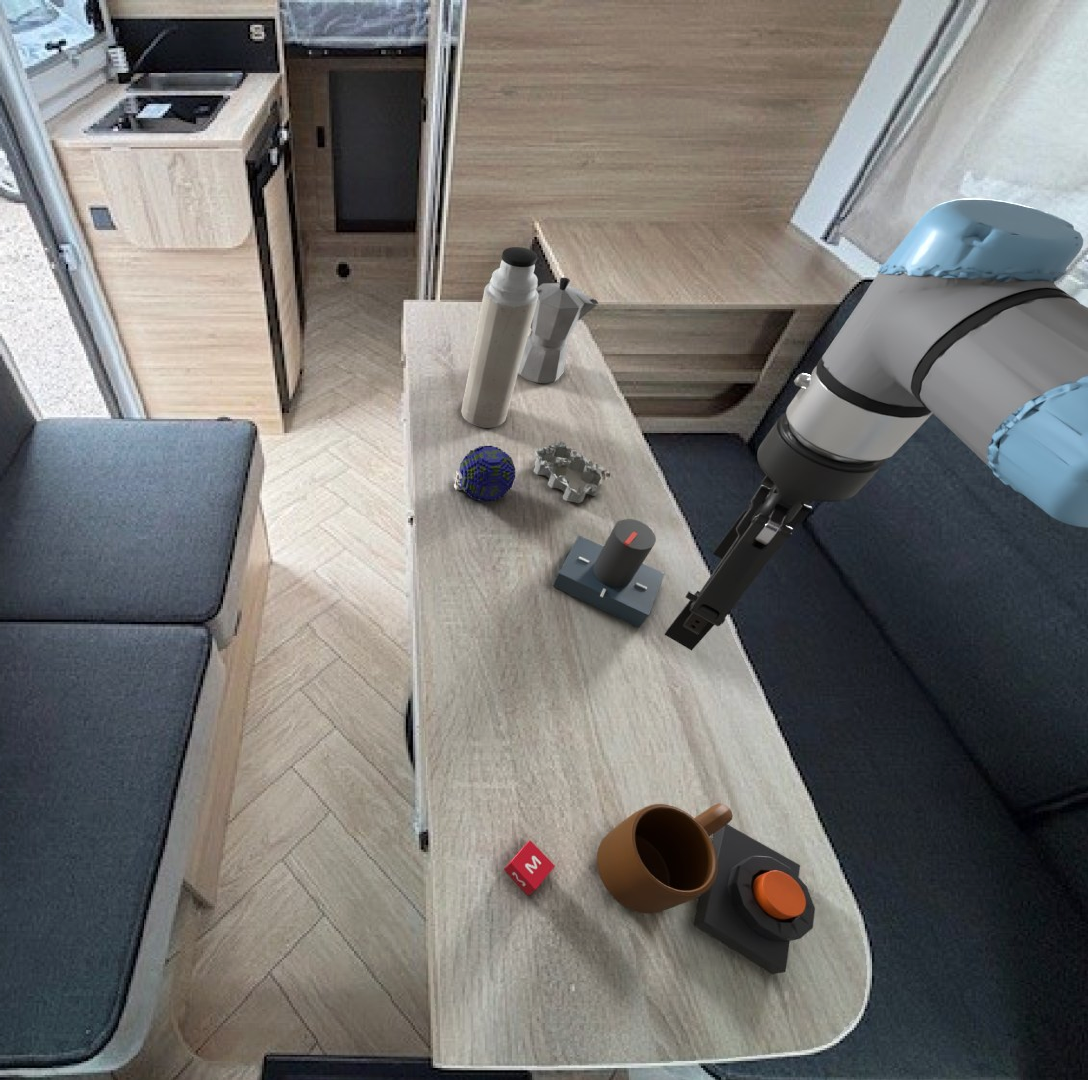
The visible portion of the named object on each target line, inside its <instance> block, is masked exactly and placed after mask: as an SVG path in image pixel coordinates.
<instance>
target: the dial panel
mask: <svg viewBox="0 0 1088 1080" xmlns="http://www.w3.org/2000/svg"><path fill="white" fill-rule="evenodd" d="M603 547H604V545H602V544H600V543H598V542H596V541H593V540H590V539H589V538H586V537H584V536H582V535H580V534H579V535H578V536H577V538H576V540H575V542H574V543H573V545H572V547H571V549H570V551H569V553H568V554H567V557H566V558H565V560H564V562H563V563H562V566H561V568H560V570H559V572H558V573H557V576H556V578H555V579H554V582H553V584H552V587H554V588H555V589H557V590H560V591H562V592H564V593H566V594H568V595H570V596H572V597H574V598H576V599H579V600H581V601H583V602H585V603H587V604H589V605H591V606H593V607H595V608H597V609H599V610H601V611H603V612H605V613H608V614H610V615H611V616H614V617H617V618H618V619H620V620H622V621H625V622H626V623H629V624H630V625H633V626H635V627H636V628H638V629H639V628H641V627H642V625H644V623H645V622H646V620H647V619H648V617H649V616H650V614H651V611H652V608H653V606H654V603H655V601H656V598H657V595H658V593H659V590H660V588H661V585H662V583H663V580H664V577H665V575H666V573H665V572H663V571H661V570H659V569H656V568H654V567H652V566H649V565H648V564H645V563H644V562H643V563H642V565H641V566H640V568H639V569H638V571H637V573H636V574H635V576H634V577H633V579H632V580H631V582H630V583H629V584H628V585H627V586H625V587H623V588H612V587H609V586H607V585H605V584H603V583H601V582H600V581H599V580H598V579H597V578H596V576H595V574H594V571H593V566H594V564H595V562H596V560H597V558H598V556H599V554H600V553H601V551H602V549H603Z"/></svg>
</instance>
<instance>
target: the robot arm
mask: <svg viewBox="0 0 1088 1080" xmlns="http://www.w3.org/2000/svg"><path fill="white" fill-rule="evenodd" d="M1083 245H1084V238H1083V236H1082V234H1081V232H1080V231H1077V230H1076V229H1075V227H1074V225H1073V224H1072V223H1071V222H1069V221H1067V220H1065V219H1063V218H1061V217H1059V216H1056V215H1054V214H1053V213H1049V212H1047V211H1043V210H1041V209H1038V208H1034V207H1030V206H1026V205H1023V204H1019V203H1014V202H1009V201H1003V200H996V199H990V198H989V199H987V198H959V199H958V198H957V199H953V200H949V201H946V202H942V203H940V204H937V205H936V206H934V207H933V208H931V209H929V210H928V211H926V213H924V214H923V215H922V216H921V217H920V218H919V220H918V221H917V223H915V225H914V226H913V227H912V229H911V230H910V231H909V233H908V234H907V235H906V236H905V237H904V238H903V240H902V241H901V243H899V245H898V246H897V247H896V249H895V250H894V251H893V252H892V254H891V255H890V256H889V258H888V259H887V260H886V262H885V263H883V264H881V265H880V267H879V268H878V270H877V274H876V276H875V277H874V278H873V280H872V282H871V284H870V285H869V287H868V288H867V290H866V292H864V294H863V296H862V298H861V299H860V300H859V302H858V303H857V304H856V307H855V308H854V310H853V311H852V312H851V314H850V315H849V317H848V318H847V320H846V321H845V323H844V324H843V326H842V327H841V329H840V330H839V332H837V334H836V336H835V337H834V338H833V340H832V342H831V343H830V345H829V346H828V348H826V351H825V352H824V354H823V355H822V356H821V357H820V359H819V360H818V362H817V364H816V365H815V367H814V368H813V370H812V371H811V374H808V373H804V372H801V373H800V374H798V375H797V376H796V377H795V379H794V380H793V382H794V385H795V386H797V387H798V388H800V389H799V390H798V391H797V393H796V394H795V396H794V397H793V398H792V400H791V402H790V403H789V404H788V406H787V408H786V411H785V412H784V413H783V414H781V415H779V417H778V419H777V420H776V422H775V423H774V424H773V426H772V428H771V429H770V430H769V432H768V433H767V435H766V436H765V437H764V439H763V440H762V442H761V443H760V445H759V446H758V449H757V452H756V453H757V454H756V458H757V462H758V465H759V468H760V469H761V470H762V472H763V473H764V474H765V476H764V477H763V479H762V481H761V482H760V485H759V487H757V490H756V492H755V494H754V495H753V497H752V498H751V500H750V501H749V503H748V505H749V506H748V509H746V508H745V509H744V510H743V511H742V513H741V514H739V515H740V516H739V517H738V518H737V520H736V521H735V522H734V523H733V525H732V526H731V528H730V529H729V530H728V531H727V532H726V534H725V535H724V537H723V538H722V540H721V541H720V542H719V543H718V545H717V546H716V548H715V549H713V552H712V555H714V556H715V557H717V558H719V559H721V560H720V562H719V563H718V565H717V566H716V568H715V569H714V571H713V572H712V573H711V575H710V576H709V578H708V579H707V581H706V582H705V584H704V585H703V586H702V588H701V589H700V591H699V590H696V592H695V593H693V592H692V591H690V590H688V592H687V593H686V595H685V597H684V598H686V599H687V600H689V601H688V602H687V604H686V605H685V606H684V608H683V609H682V610H681V611H680V612H679V614H678V615H677V616H676V618H675V619H674V620H673V621H672V623H671V624H670V625H669V627H668V628H667V629H666V631H665V633H664V634H663V635H664V636H665V637H668V638H669V639H671V640H673V641H675V642H676V643H677V644H679V645H681V646H683V647H684V648H686V649H688V650H690V651H693V650H694V649H695V648H696V647H697V645H698V644H700V642H701V641H702V639H703V638H704V637H706V635H707V634H708V633H709V631H711V629H712V628H713V627H714V626H715V627H720V626H721V625H723V624H724V622H725V621H726V618H727V616H728V615H729V614H730V612H731V611H732V610H733V608H734V607H735V606H736V604H737V603H738V602H739V600H740V599H741V598H742V597H743V595H744V594H745V592H746V591H747V590H748V588H750V586H751V585H752V583H753V582H754V581H755V579H757V577H758V575H759V574H760V573H761V571H762V570H763V569H764V567H766V565H767V564H768V562H769V561H770V560H771V558H772V557H773V555H774V554H775V553H776V552H777V551H778V550H779V549H780V548H781V547H782V545H783V544H784V543H785V542H786V540H788V539H790V538H791V536H792V535H793V531H794V529H795V527H796V526H798V525H800V524H802V523H803V522H804V521H805V519H806V518H807V516H808V515H809V514H810V513H811V510H812V509H813V507H812V506H811V505H810V504H812V503H813V502H824V503H837V502H842V501H846V500H849V499H851V498H852V497H854V496H856V495H857V494H858V493H859V492H860V491H861V490H862V489H863V487H865V486H866V485H867V484H868V482H869V481H870V480H871V479H872V478H873V477H874V476H875V475H876V473H878V471H879V470H880V469H881V468H882V467H883V466H884V464H885V463H886V460H887V459H889V458H891V457H893V456H894V455H895V454H896V453H897V452H898V451H899V450H900V449H901V447H902V446H903V445H905V443H906V442H907V441H908V440H909V439H910V438H911V437H912V436H913V435H914V434H915V433H916V432H917V431H918V429H920V428H921V426H922V425H924V423H925V422H926V421H927V420H928V419H929V418H930V416H932V415H934V416H935V417H937V418H938V420H940V422H942V423H943V424H944V425H945V426H946V427H947V428H948V430H950V431H951V432H952V433H953V434H954V435H955V436H956V437H957V438H958V439H959V440H960V441H961V442H962V443H963V444H965V446H967V448H969V449H970V450H971V451H972V452H973V453H974V455H976V456H977V457H978V458H979V459H980V460H981V461H982V462H983V463H984V464H985V465H986V466H987V467H989V469H990V470H992V473H993V475H994V476H995V477H996V478H998V479H999V481H1001V482H1002V484H1004V485H1006V486H1010V487H1011V488H1012V490H1014V491H1015V492H1017V493H1019V494H1022V495H1024V497H1026V498H1027V499H1028V500H1030V501H1031V502H1032V503H1034V504H1035V505H1036V506H1037V507H1038V508H1039V509H1041V510H1042V511H1043V512H1044V513H1046V514H1047V515H1049V517H1051V518H1053V519H1055V520H1057V521H1059V522H1061V523H1063V524H1066V525H1070V526H1075V527H1080V528H1088V307H1087V306H1086V305H1083V304H1082V303H1080V301H1078V300H1077V298H1074V297H1073V296H1071V295H1070V294H1069V293H1067V292H1065V290H1063V289H1061V288H1060V287H1058V286H1057V285H1056V284H1055V282H1057V281H1059V280H1061V278H1062V277H1063V276H1065V275H1066V274H1067V268H1068V267H1069V265H1070V264H1071V263H1072V262H1073V261H1074V260H1075V258H1076V257H1078V255H1079V254H1080V252H1081V251H1082V249H1083Z"/></svg>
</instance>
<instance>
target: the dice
mask: <svg viewBox="0 0 1088 1080" xmlns="http://www.w3.org/2000/svg"><path fill="white" fill-rule="evenodd" d="M555 867H556V865H555V864H554V863H553V862H552V861H551V860H550V859H549V857H547V856H546V855H545V853H543V852H542V850H541V849H540V848H539V847H538V846H537V845H535V843H534V842H533V841H532V840H531V839H530V840H528V841H527V843H526V844H524V845H523V846H522V848H521V849H520V850H519V851H518V852H517V854H515V856H514V857H513V858H512V860H510V861H509V863H508V864H507V865H506V866H505V867H504V869H503V871H505V872H506V874H508V876H509V877H510V878H511V880H513V882H515V884H517V886H518V887H519V888H520V889H521V890H522V891H523V892H524V893H525V894H526V896H530V895H531V894H532V893H534V892H535V891H536V890H537V889H538V888H539V886H541V884H542V883H543V882H544V881H545V880H546V879H547V877H548V875H549V874H550V873H551V872H552V871H553V869H554V868H555Z"/></svg>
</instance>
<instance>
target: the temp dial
mask: <svg viewBox="0 0 1088 1080" xmlns="http://www.w3.org/2000/svg"><path fill="white" fill-rule="evenodd" d="M656 541H657V537H656V534H655V532H654V530H653V529H652V528H651V527H650V526H649V525H648V524H647V523H645V522H643V521H640V520H638V519H633V518H624V519H621V520H619V521H617V522H616V523H615V525H614V526H613V528H612V530H611V532H610V534H609V536H608V537H607V539H606V541H605V543H604V545H603V546H604V547H603V549H602V551H601V553H600V554H599V556H598V558H597V560H596V562H595V564H594V566H593V571H594V574H595V576H596V578H597V579H598V580H599V581H600V582H601V583H603V584H605V585H607V586H609V587H612V588H623V587H625V586H627V585H628V584H629V583H630V582H631V580H632V579H633V577H634V576H635V574H636V573H637V571H638V569H639V568H640V566H641V565H642V563H643V564H644V561H646V558H647V557H648V555H649V554H650V552H651V551H652V549H653V547H654V546H655V545H656V543H657V542H656Z"/></svg>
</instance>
